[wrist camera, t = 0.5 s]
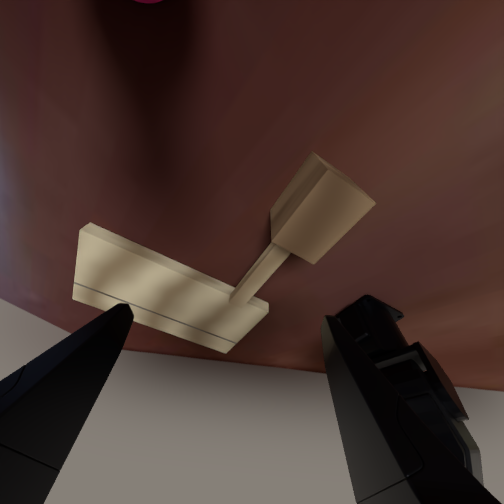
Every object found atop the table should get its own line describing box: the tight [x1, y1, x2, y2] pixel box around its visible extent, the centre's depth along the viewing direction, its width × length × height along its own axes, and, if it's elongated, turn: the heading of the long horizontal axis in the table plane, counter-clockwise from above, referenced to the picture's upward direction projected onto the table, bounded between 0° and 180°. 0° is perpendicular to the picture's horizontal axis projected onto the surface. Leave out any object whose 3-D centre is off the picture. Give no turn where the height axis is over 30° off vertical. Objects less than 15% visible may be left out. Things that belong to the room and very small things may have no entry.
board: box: [72, 223, 269, 353], centre depth 27 cm, size 22×12×2 cm, turn 60°
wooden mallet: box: [229, 151, 376, 308], centre depth 19 cm, size 4×16×6 cm, turn 149°
